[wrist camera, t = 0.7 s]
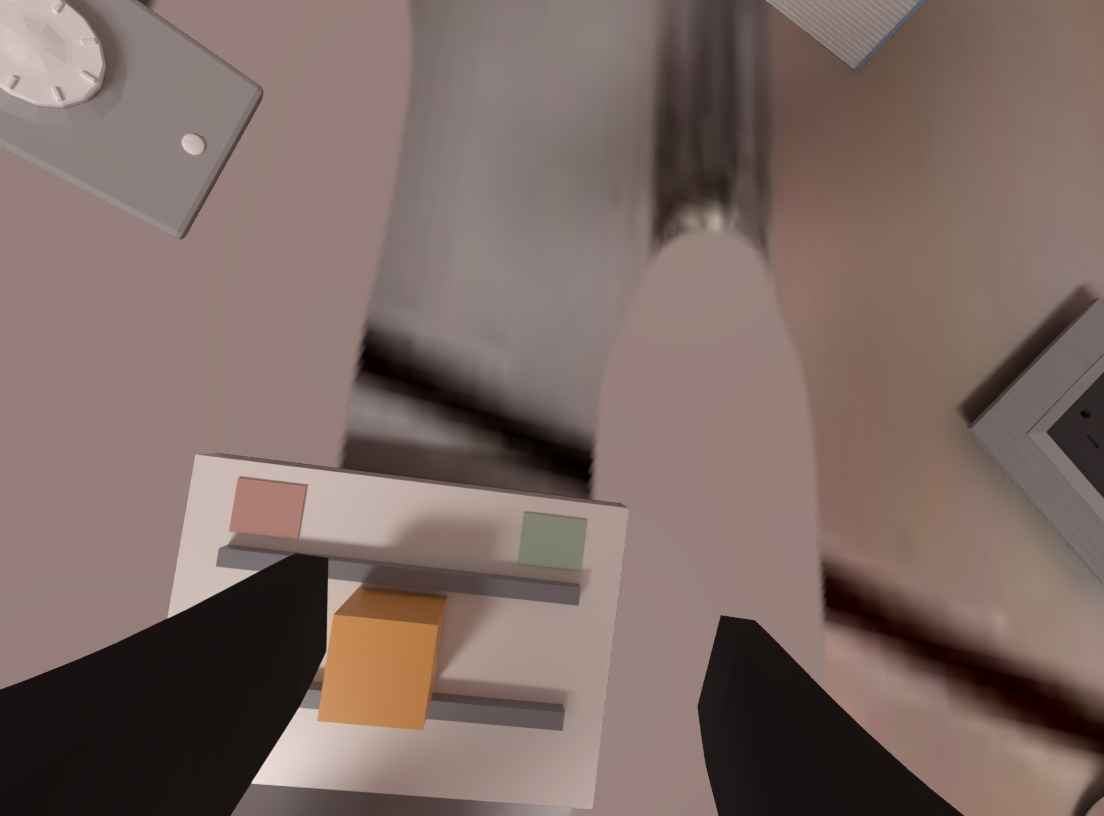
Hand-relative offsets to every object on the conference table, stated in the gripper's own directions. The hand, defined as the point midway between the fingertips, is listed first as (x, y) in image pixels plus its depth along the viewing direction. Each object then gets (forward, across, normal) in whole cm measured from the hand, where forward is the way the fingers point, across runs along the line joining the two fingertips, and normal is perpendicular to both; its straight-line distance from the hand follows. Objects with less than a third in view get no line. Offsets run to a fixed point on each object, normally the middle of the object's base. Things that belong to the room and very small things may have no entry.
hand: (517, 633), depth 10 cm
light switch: (+21, +24, -10) cm, 33 cm away
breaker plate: (+15, +6, +12) cm, 20 cm away
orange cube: (+13, +6, +11) cm, 18 cm away
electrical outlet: (+23, -30, +1) cm, 38 cm away
